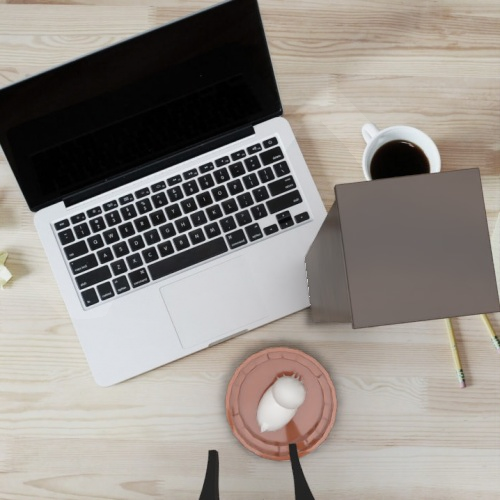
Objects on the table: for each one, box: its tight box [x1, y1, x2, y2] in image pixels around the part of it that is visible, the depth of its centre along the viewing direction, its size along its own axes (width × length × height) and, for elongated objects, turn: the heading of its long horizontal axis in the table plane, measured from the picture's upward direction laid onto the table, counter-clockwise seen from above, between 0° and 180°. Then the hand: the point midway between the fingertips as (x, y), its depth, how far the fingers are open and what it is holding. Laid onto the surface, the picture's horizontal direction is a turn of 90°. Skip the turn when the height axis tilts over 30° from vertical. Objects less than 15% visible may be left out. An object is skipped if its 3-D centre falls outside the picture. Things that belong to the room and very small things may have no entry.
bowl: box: [224, 345, 338, 462], centre depth 85 cm, size 13×13×4 cm
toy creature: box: [256, 373, 308, 433], centre depth 83 cm, size 5×8×6 cm, turn 145°
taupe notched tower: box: [304, 166, 500, 330], centre depth 65 cm, size 9×9×47 cm
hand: (252, 447), depth 69 cm, fingers open, 7 cm apart
